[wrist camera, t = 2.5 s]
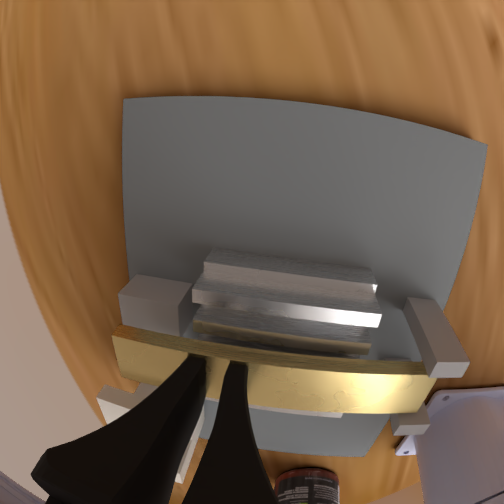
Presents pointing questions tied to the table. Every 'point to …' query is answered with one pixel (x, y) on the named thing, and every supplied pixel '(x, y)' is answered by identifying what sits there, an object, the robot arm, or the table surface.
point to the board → (300, 227)
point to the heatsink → (285, 307)
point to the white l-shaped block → (122, 401)
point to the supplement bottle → (307, 487)
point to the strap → (279, 374)
